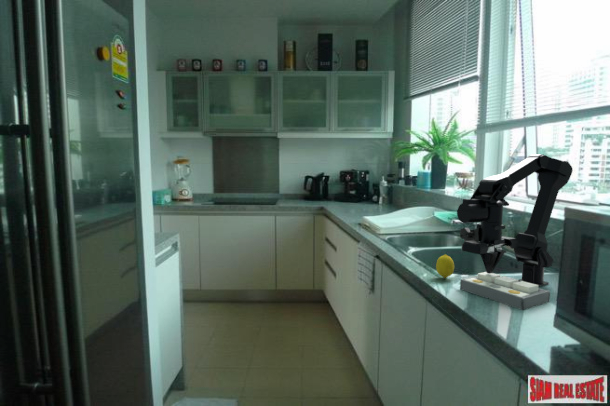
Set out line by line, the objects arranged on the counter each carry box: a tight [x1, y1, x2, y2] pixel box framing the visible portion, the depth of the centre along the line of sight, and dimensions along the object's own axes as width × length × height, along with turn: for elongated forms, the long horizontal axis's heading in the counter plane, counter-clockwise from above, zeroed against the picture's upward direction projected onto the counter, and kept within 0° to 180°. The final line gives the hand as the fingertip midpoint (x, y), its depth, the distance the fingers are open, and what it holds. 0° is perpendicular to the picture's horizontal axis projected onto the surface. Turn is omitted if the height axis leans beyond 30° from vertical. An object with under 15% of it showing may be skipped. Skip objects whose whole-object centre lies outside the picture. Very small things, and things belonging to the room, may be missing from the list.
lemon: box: [435, 253, 455, 279], centre depth 123 cm, size 6×6×8 cm
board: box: [459, 275, 551, 311], centre depth 107 cm, size 12×19×3 cm, turn 29°
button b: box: [494, 275, 519, 288], centre depth 107 cm, size 4×4×2 cm
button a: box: [476, 271, 501, 283], centre depth 112 cm, size 4×4×2 cm
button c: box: [513, 281, 540, 294], centre depth 102 cm, size 4×4×2 cm
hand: (489, 273), depth 112 cm, fingers closed
